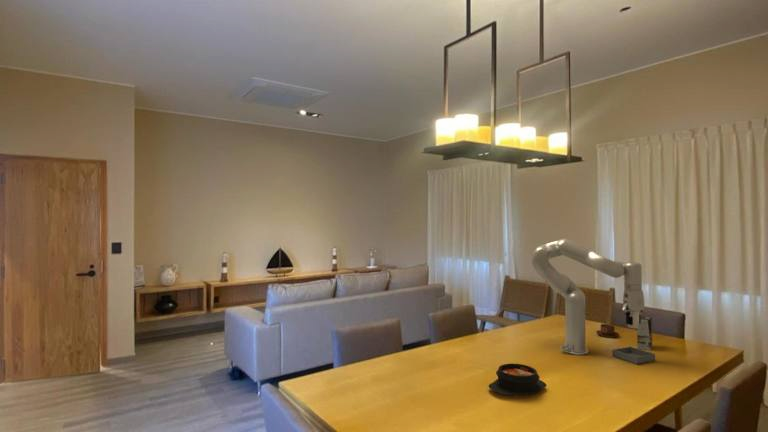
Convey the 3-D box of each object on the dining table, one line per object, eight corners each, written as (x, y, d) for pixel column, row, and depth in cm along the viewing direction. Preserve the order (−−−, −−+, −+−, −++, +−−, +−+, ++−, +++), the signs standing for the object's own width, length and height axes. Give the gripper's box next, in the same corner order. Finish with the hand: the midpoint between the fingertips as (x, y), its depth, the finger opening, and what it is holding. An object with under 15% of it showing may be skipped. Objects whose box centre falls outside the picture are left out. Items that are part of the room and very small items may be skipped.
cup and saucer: (622, 339, 243) (622, 328, 243) (599, 338, 245) (599, 327, 245) (615, 333, 254) (615, 323, 254) (593, 332, 257) (593, 322, 257)
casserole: (523, 377, 185) (523, 358, 185) (557, 392, 168) (557, 371, 168) (478, 387, 173) (478, 367, 173) (510, 405, 157) (510, 382, 157)
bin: (636, 364, 200) (636, 357, 200) (612, 356, 212) (612, 349, 212) (655, 361, 205) (655, 353, 205) (630, 353, 217) (629, 346, 217)
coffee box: (651, 350, 221) (650, 320, 221) (636, 348, 225) (636, 318, 225) (652, 346, 228) (652, 317, 228) (638, 344, 232) (638, 315, 232)
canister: (634, 329, 205) (634, 310, 205) (625, 326, 210) (625, 308, 210) (641, 327, 207) (641, 309, 207) (632, 325, 212) (631, 307, 212)
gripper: (628, 289, 202) (628, 327, 202) (651, 287, 209) (652, 323, 208) (614, 287, 209) (614, 323, 208) (637, 285, 215) (637, 320, 215)
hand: (633, 323), depth 208 cm, fingers closed on canister, 5 cm apart
